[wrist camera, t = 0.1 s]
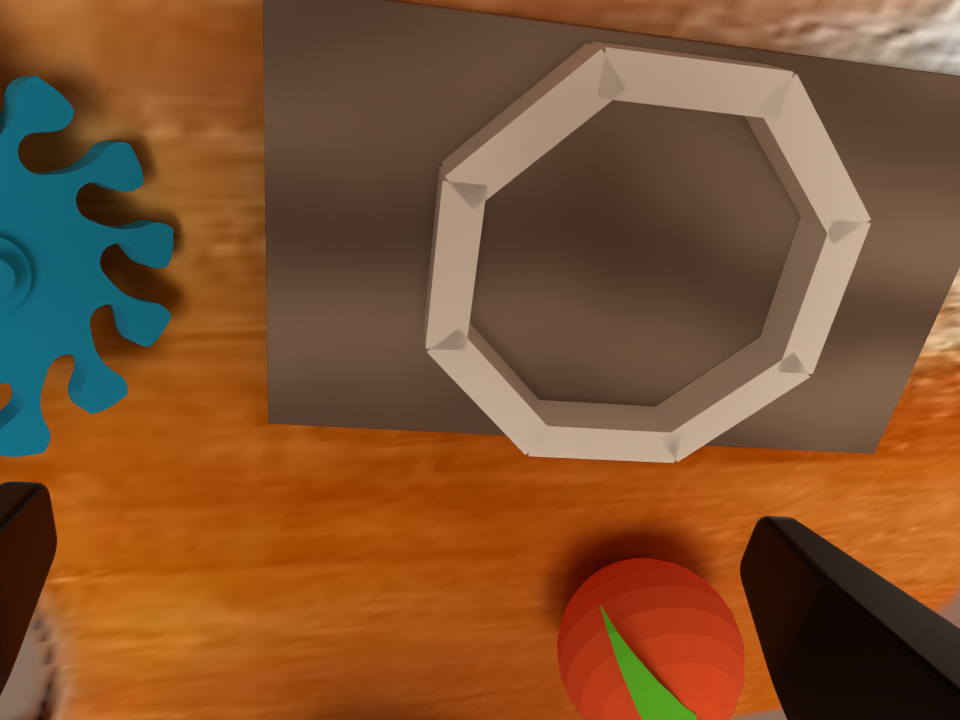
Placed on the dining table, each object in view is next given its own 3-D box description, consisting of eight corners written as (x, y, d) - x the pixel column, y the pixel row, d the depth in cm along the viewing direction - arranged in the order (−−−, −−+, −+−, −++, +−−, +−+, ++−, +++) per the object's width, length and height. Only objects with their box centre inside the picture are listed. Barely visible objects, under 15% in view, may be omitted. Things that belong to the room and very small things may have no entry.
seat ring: (756, 440, 26) (776, 467, 25) (414, 423, 25) (415, 451, 23) (887, 79, 21) (922, 88, 19) (453, 23, 19) (457, 28, 18)
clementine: (497, 559, 29) (524, 719, 23) (649, 475, 28) (720, 621, 22) (592, 663, 33) (637, 826, 27) (730, 593, 32) (811, 747, 25)
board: (859, 438, 28) (874, 453, 27) (272, 407, 25) (268, 423, 24) (1016, 83, 22) (1041, 88, 21) (269, -17, 19) (262, -16, 18)
